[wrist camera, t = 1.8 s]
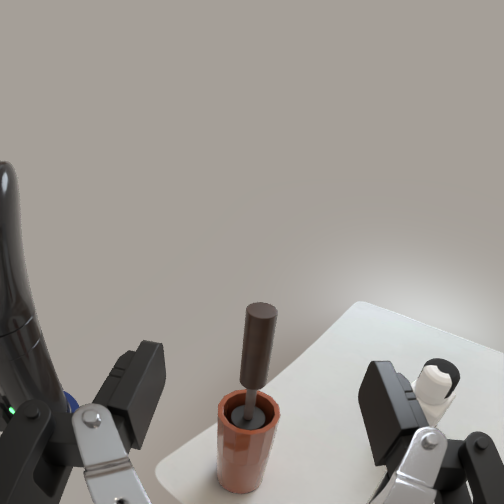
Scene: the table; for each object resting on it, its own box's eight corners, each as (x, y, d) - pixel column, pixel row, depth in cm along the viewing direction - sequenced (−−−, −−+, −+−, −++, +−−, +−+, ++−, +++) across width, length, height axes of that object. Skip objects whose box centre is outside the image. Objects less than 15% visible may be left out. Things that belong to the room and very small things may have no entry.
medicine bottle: (407, 402, 42) (435, 346, 38) (437, 423, 37) (471, 369, 33) (384, 422, 39) (413, 365, 34) (416, 447, 33) (454, 392, 29)
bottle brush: (237, 460, 25) (253, 327, 19) (223, 438, 28) (231, 303, 22) (265, 449, 27) (293, 316, 21) (250, 429, 29) (269, 295, 23)
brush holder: (230, 500, 26) (236, 443, 22) (209, 466, 31) (207, 398, 26) (271, 483, 29) (292, 420, 24) (248, 452, 34) (259, 382, 29)
